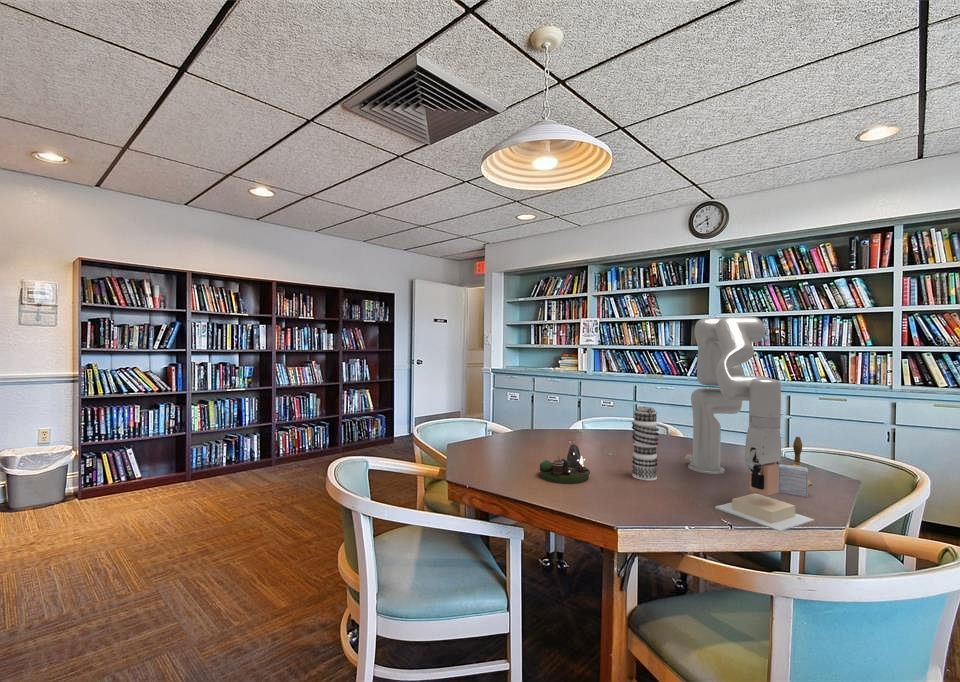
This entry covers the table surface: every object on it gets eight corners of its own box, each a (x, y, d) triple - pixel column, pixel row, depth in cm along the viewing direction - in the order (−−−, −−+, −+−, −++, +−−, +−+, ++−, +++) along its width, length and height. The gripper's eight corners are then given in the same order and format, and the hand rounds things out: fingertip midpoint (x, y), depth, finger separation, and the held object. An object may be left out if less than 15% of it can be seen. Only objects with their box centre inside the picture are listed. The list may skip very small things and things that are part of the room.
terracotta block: (749, 489, 127) (749, 461, 127) (760, 487, 129) (760, 459, 129) (767, 495, 123) (767, 466, 123) (778, 492, 125) (778, 464, 125)
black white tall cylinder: (626, 473, 166) (627, 405, 165) (651, 472, 166) (652, 405, 166) (637, 481, 156) (638, 409, 156) (662, 480, 157) (663, 409, 157)
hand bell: (783, 477, 163) (784, 433, 163) (812, 482, 158) (813, 436, 157) (781, 482, 156) (782, 437, 156) (810, 487, 151) (811, 440, 151)
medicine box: (807, 494, 145) (807, 467, 145) (808, 498, 141) (808, 470, 141) (778, 489, 149) (778, 463, 149) (778, 493, 146) (778, 466, 146)
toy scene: (599, 477, 161) (600, 447, 161) (571, 488, 149) (571, 456, 148) (558, 466, 174) (559, 439, 174) (529, 476, 161) (529, 446, 161)
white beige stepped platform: (715, 509, 131) (715, 496, 131) (748, 501, 138) (749, 488, 138) (780, 534, 115) (780, 518, 115) (814, 523, 122) (814, 508, 122)
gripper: (768, 418, 133) (767, 479, 133) (732, 422, 125) (731, 487, 126) (796, 422, 127) (795, 486, 127) (759, 427, 119) (758, 495, 119)
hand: (763, 486), depth 126 cm, fingers closed on terracotta block, 5 cm apart
